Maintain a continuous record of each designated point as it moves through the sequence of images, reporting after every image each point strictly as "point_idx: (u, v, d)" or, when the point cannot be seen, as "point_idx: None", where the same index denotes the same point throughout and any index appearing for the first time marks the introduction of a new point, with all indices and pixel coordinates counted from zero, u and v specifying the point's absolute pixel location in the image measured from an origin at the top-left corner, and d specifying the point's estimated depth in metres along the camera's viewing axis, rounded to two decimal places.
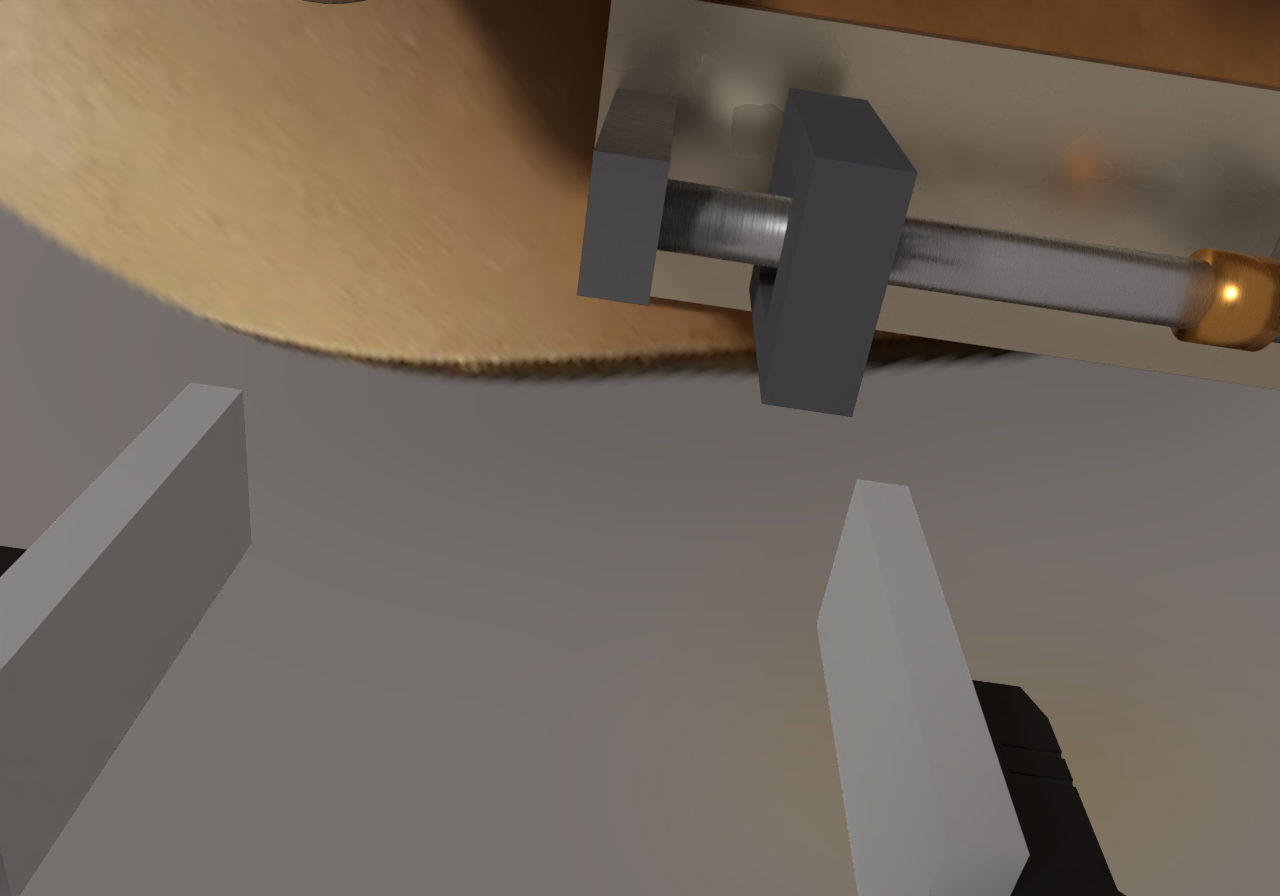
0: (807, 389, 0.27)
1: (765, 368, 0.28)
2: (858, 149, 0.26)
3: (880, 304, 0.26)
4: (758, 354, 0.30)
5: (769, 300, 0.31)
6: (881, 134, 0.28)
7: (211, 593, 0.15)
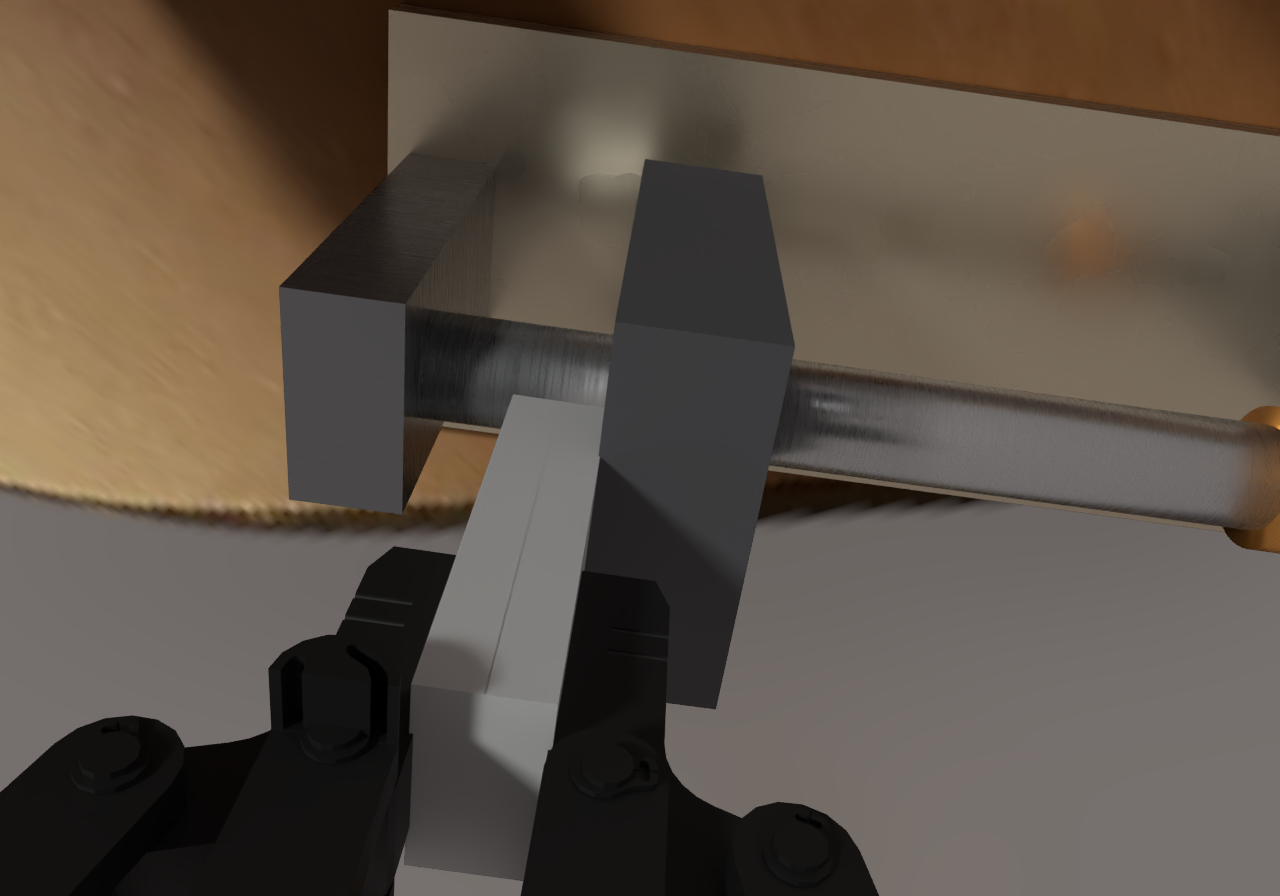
0: None
1: None
2: (705, 292, 0.15)
3: (747, 550, 0.15)
4: None
5: None
6: (759, 251, 0.17)
7: None
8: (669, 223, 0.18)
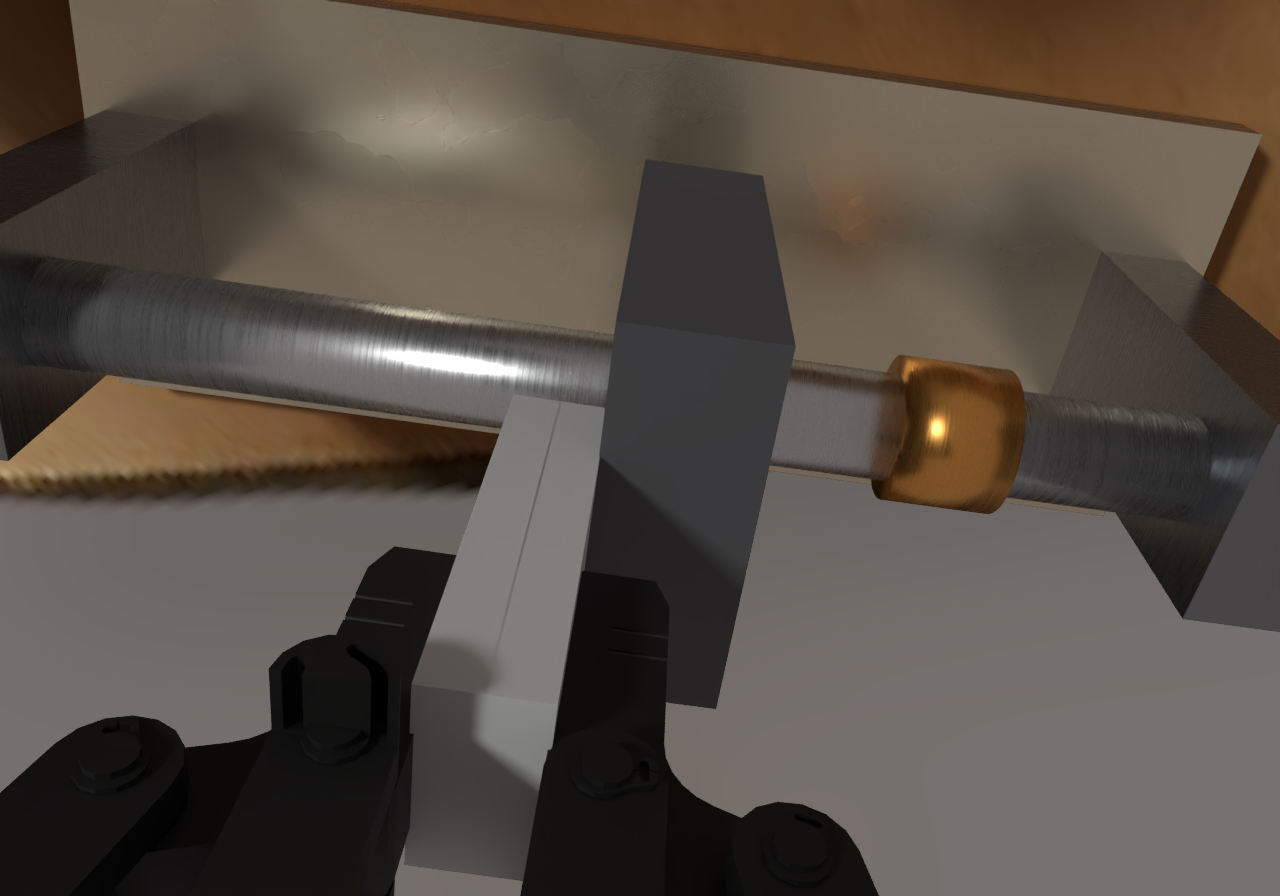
0: None
1: None
2: (706, 292, 0.15)
3: (748, 549, 0.15)
4: None
5: None
6: (760, 251, 0.17)
7: None
8: (669, 223, 0.18)
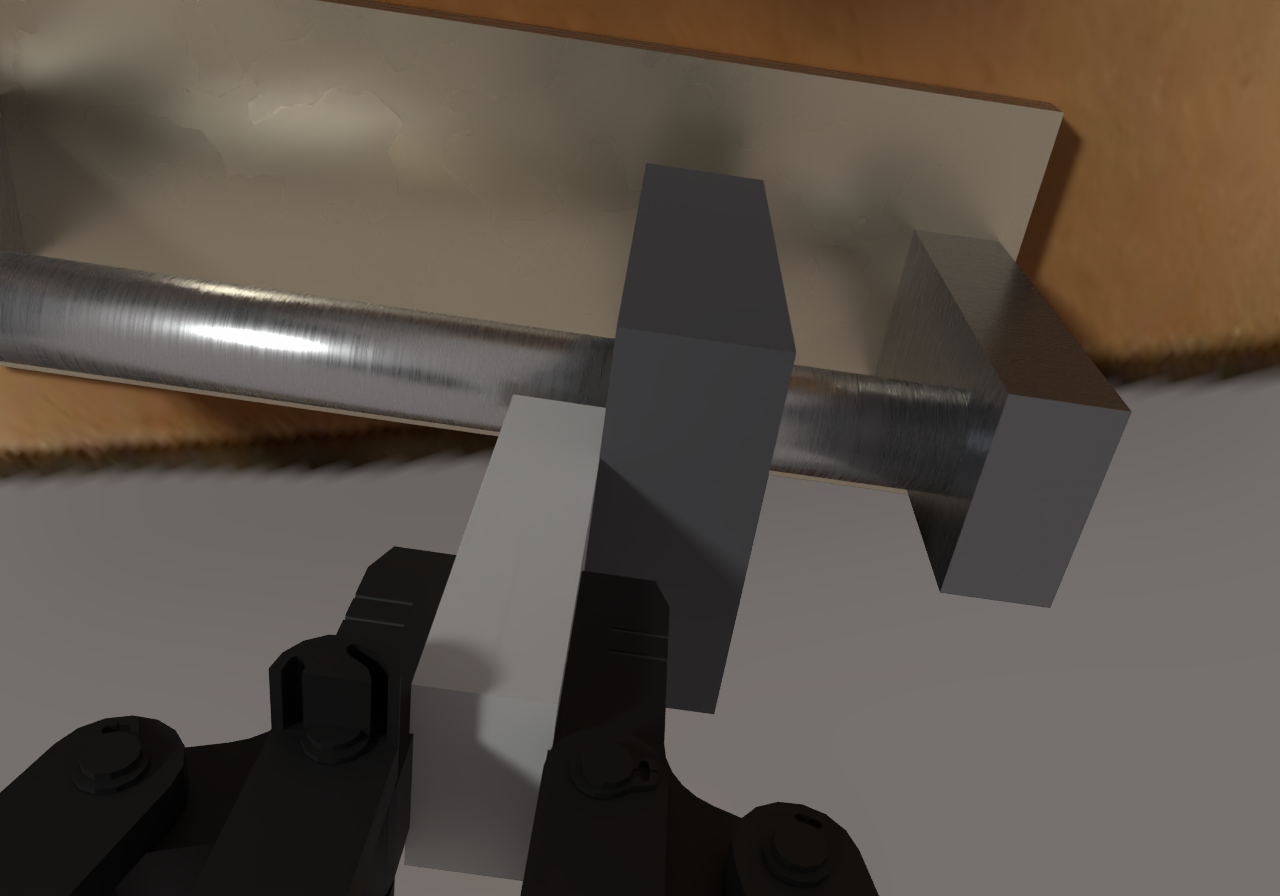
0: None
1: None
2: (706, 298, 0.15)
3: (747, 555, 0.15)
4: None
5: None
6: (760, 256, 0.17)
7: None
8: (670, 228, 0.18)
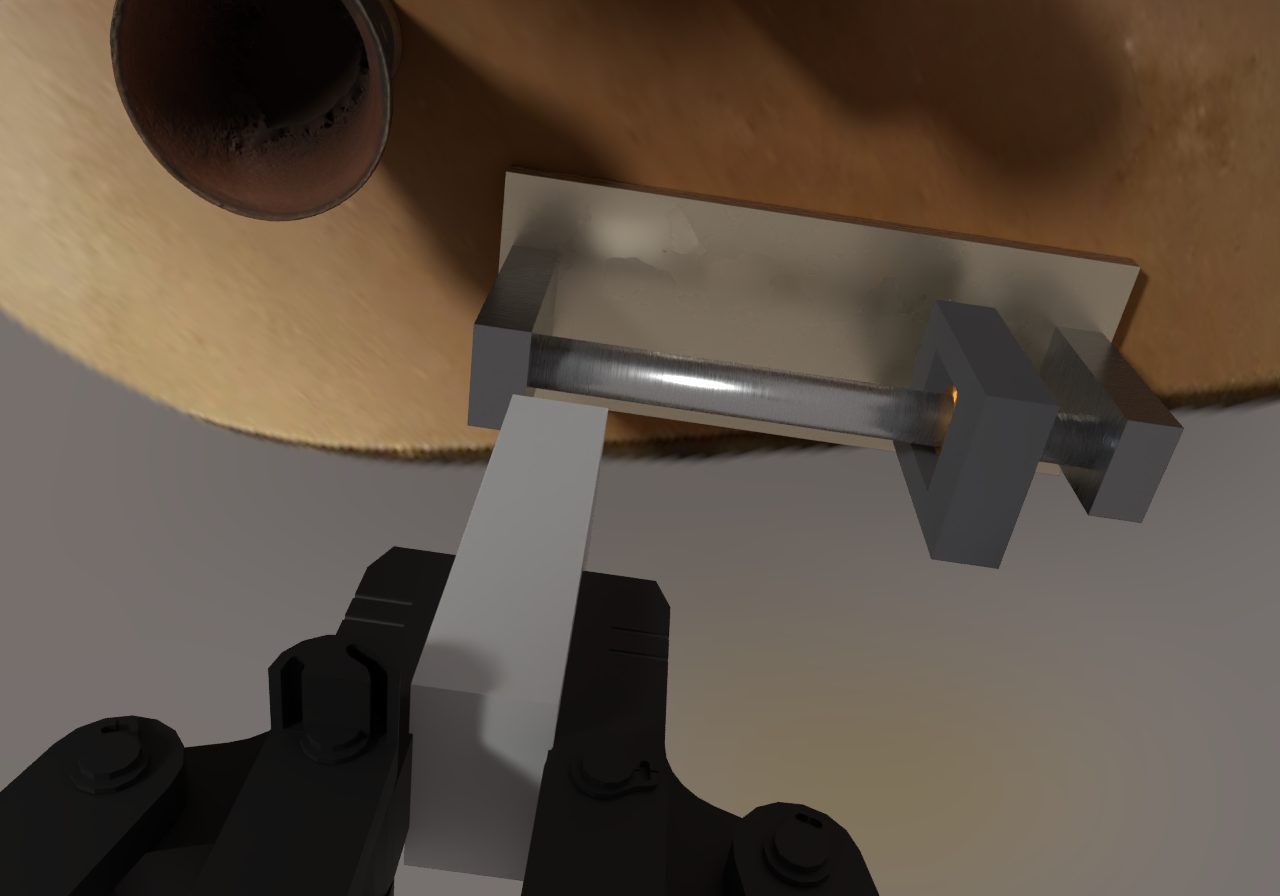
0: (966, 549, 0.37)
1: (932, 531, 0.37)
2: (1011, 380, 0.35)
3: (1026, 492, 0.35)
4: (919, 512, 0.39)
5: (923, 467, 0.40)
6: (1020, 357, 0.37)
7: None
8: (973, 342, 0.38)
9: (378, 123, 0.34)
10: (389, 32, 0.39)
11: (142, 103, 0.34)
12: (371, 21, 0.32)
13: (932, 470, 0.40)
